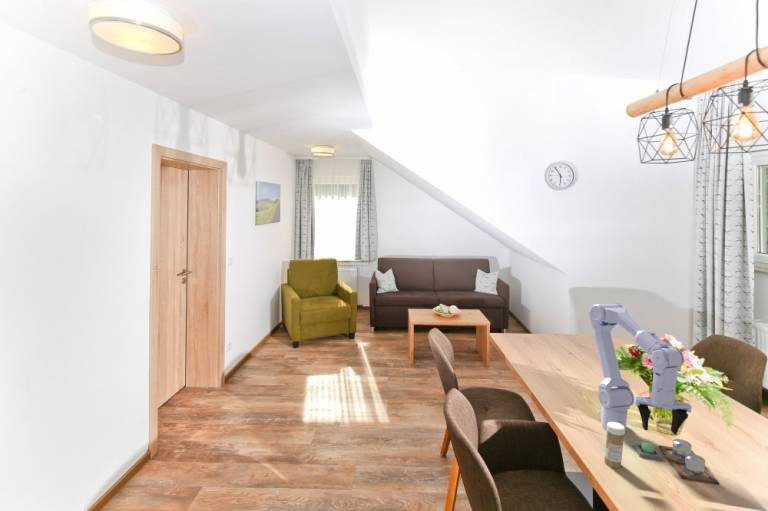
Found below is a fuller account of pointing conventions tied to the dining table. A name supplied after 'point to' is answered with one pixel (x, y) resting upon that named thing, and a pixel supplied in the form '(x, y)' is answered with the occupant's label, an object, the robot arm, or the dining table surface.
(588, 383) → the dining table surface
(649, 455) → the grey square frame
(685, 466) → the cylinder
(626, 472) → the dining table surface
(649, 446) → the button
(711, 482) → the pallet
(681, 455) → the seated billet
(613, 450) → the sprinkles bottle
